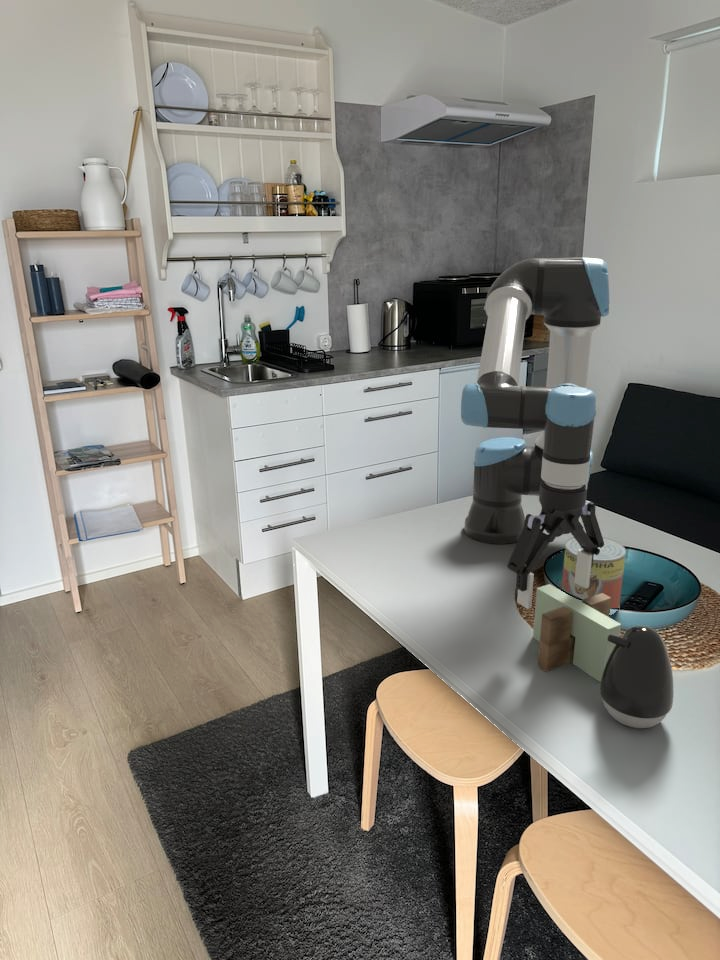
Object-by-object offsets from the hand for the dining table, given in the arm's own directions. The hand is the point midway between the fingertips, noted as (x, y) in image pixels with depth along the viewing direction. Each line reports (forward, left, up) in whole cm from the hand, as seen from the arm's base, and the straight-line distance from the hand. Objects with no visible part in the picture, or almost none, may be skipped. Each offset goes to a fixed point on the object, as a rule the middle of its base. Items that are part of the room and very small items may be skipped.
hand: (553, 595), depth 122 cm
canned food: (-17, -6, -9) cm, 20 cm away
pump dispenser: (+4, +22, -9) cm, 24 cm away
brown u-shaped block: (0, +6, -9) cm, 11 cm away
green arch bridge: (0, +6, -9) cm, 11 cm away
